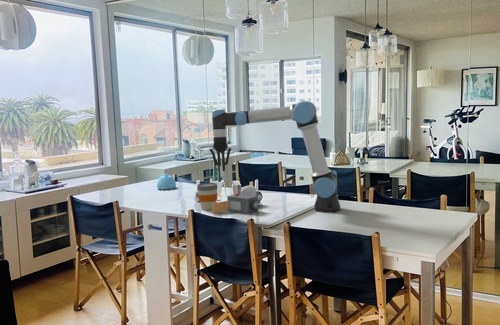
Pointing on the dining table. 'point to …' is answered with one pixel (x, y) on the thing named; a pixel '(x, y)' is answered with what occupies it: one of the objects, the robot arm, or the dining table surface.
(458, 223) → the dining table surface
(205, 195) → the reusable coffee cup
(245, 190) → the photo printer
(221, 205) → the side door
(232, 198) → the camera body
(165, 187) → the sugar bowl
